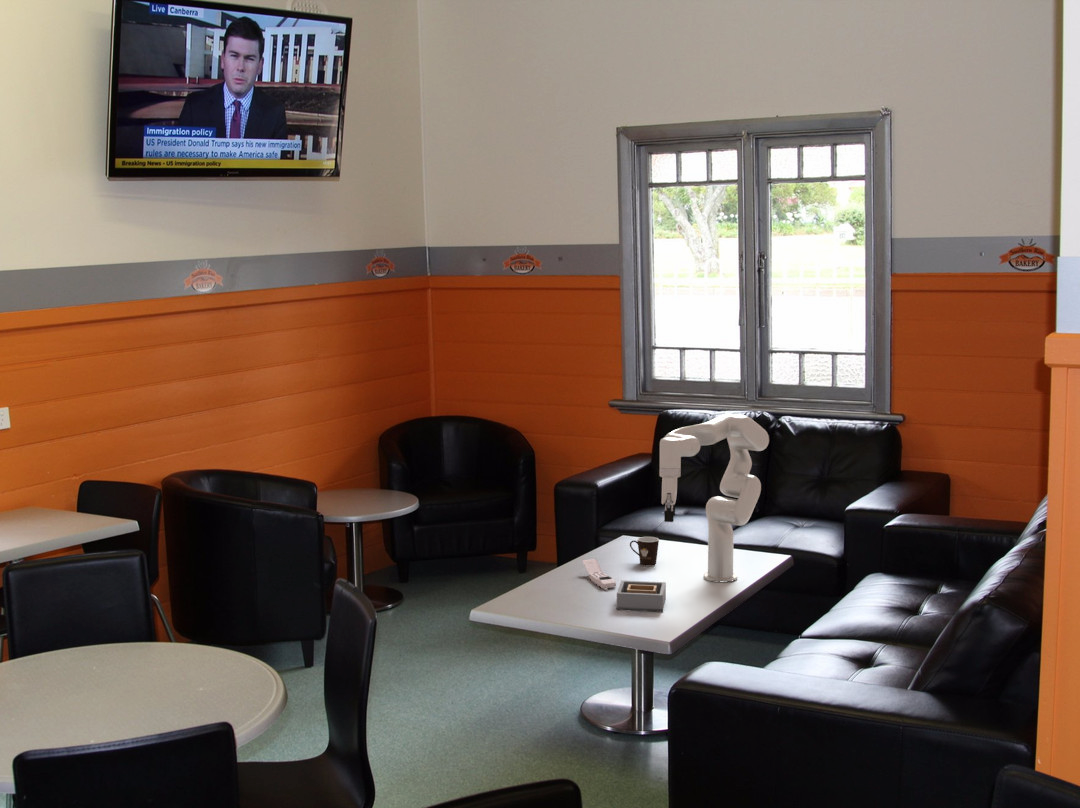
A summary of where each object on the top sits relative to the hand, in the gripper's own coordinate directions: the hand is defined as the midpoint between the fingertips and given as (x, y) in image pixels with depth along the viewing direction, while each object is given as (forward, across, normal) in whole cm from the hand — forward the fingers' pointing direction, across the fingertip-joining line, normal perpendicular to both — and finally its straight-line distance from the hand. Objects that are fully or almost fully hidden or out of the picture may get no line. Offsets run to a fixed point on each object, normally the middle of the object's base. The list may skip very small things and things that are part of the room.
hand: (669, 518), depth 414 cm
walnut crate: (+27, +13, -9) cm, 31 cm away
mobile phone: (+29, -13, -27) cm, 42 cm away
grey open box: (+28, +13, -9) cm, 32 cm away
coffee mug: (+28, -42, -12) cm, 52 cm away
